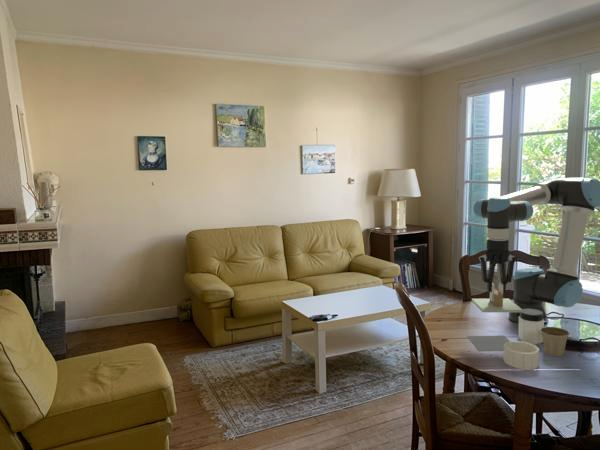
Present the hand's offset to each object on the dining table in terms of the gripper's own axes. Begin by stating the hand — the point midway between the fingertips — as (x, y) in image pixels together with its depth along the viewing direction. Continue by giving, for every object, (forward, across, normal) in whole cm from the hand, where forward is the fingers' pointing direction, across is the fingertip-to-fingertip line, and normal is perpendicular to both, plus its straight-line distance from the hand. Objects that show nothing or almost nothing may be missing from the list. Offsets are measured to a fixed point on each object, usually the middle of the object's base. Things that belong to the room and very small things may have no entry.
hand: (496, 300), depth 168 cm
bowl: (+19, -4, +14) cm, 24 cm away
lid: (+3, 0, 0) cm, 3 cm away
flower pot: (+19, -19, +6) cm, 27 cm away
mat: (+19, 0, -3) cm, 19 cm away
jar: (+19, -16, -6) cm, 25 cm away
